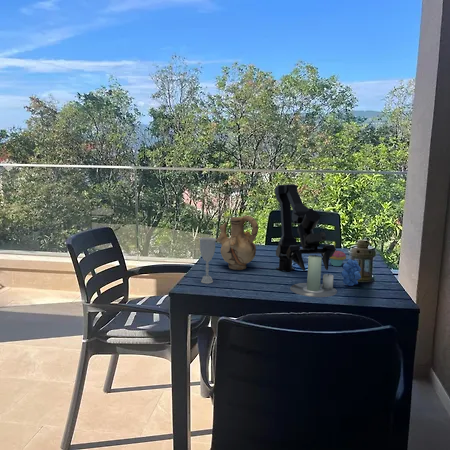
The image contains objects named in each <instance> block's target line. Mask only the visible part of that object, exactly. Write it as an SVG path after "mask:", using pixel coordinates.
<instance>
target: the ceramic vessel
mask: <svg viewBox="0 0 450 450" xmlns="http://www.w3.org/2000/svg"><path fill="white" fill-rule="evenodd" d="M246 222H249V224H250V225H251V229H252V230H251V232H250V231H245V229H244V226H245V223H246ZM227 224H228V223H227V221H226V222H224V223H223V224H220V226H219V229H220V233H219V236H218V237H217V238H215V239H216V241H215V242H217V243H220V245H221V247H220V255H221V257H222V258H223V260H224V262H225V263H228V264H227V265H228V268H229V269H230V270H236V271H242V270H245V269H247V264H249V263H251V261H253V260H254V259H255V257H256V253H257V246H256V244H255V243H254V242H255V240H256V238H257V236H258V234H259V225H258V222H257V221H256V219H255V218H253V217H252V216H250V215H244V216H240V217H239V216H238V217H237V216H233V217H230V224H231V226H230V227H231V229H230V236H229V237H228V233H227Z"/></svg>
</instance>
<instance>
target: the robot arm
mask: <svg viewBox="0 0 450 450" xmlns="http://www.w3.org/2000/svg"><path fill="white" fill-rule="evenodd" d="M274 194H275V197H276V201H277V202H278V203H279V206H280V221H281V222H280V224H281V237H280V239H279V241H278V245H277V247H276V249H275V256H276V257H277V258H278V259H279V260H278V261H279V262H278V267H276V270H277V271H282V272H291V271H294V270H295V269H296V267H293V262H295V264H296V265H298V266H299V268H301V270H302V271H303V272H305V271H306V265H305V262H304V260H303V259H304V258H303V256H302V255H304V254H306V255H307V254H309V255H316V254H317V255H318V254H320V256H321V257H322V262H323V266H324V268H325V271H328V270H329V263H330V259H329V258H330V257H332V255H333V254H334V252H335V251H337V248H336V245H335V246H334V244H324V245H323V247H321V248H320V245H321V244H320V243H323V242H324V241H326V239H327V236H326V232H325V231H322V232H321V231H319V233H314V229H315V228H316V227H317V225H318V223H319V221H320V219H321V215H320V214H319V213H318V211H316V210H314V207H313V208H312V207H310V208H309V207H307V206H306V205H304V203H303V200H302V199H301V196H300V194H299V192H298V185H297V184H290V183H289V184H278V185H277V186H276V187H275V188H274ZM292 222H293V223H294V224H295V225H296V224H297V225H298V226H297V229H296V233H297V234H298V237H299V238H300V239H299V240H300V241H299V244H300V245H299V244H298V242H297V241H298V240H297V237H295V236H294V235H293V224H292ZM301 247H302V248H301Z"/></svg>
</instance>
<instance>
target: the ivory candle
mask: <svg viewBox="0 0 450 450" xmlns="http://www.w3.org/2000/svg"><path fill="white" fill-rule="evenodd" d="M322 284H323V286H322V288H324V289H333V288H334V275H333V274H331V273H324V274H322Z"/></svg>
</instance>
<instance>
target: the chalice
mask: <svg viewBox="0 0 450 450" xmlns="http://www.w3.org/2000/svg"><path fill="white" fill-rule="evenodd" d="M216 239H217V238H216V237H215V238H214V237H210V236H208V237H200V238H198V240H199V252H200V255H201V257H202V259H203V261H204V262H205V269H204V272H205V275H203V276H202V278H201V281H200V283H202V284H213V283H214V281H213V278H212V276H211V275H210V274H209V271H210V269H209V267H210V262H211V261H212V259H213V257H214V255H215V252H216V242H217V241H216Z"/></svg>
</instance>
